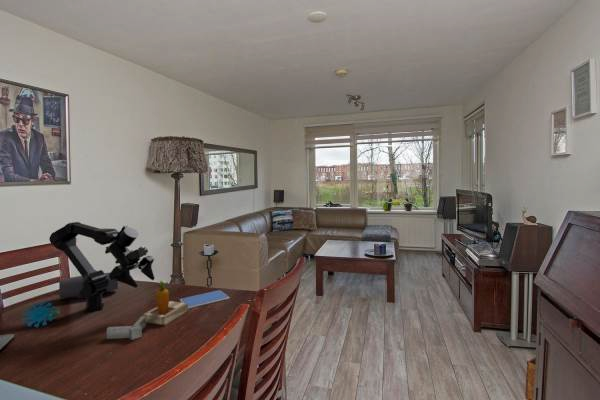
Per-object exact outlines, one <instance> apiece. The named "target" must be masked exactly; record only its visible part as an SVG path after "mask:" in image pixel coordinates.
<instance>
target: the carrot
mask: <svg viewBox="0 0 600 400" xmlns="http://www.w3.org/2000/svg"><path fill="white" fill-rule="evenodd" d="M168 283H169V282H168V281H166V282H165V281H163V280H160V281H159V283H158V287H159V289H158V290H156V291H155V300H156V301H155V302H156V307H157V308H158V312H159V314H160V315H166V313H167V310H168V304H169V301H170V296H169V295H170V292H169V290H168V289H167V288H166V286H167V284H168Z"/></svg>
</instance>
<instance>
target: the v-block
mask: <svg viewBox="0 0 600 400" xmlns="http://www.w3.org/2000/svg"><path fill="white" fill-rule="evenodd" d="M146 326H147V322H146V316H143V315H142V316H140V317H139V319H138V320H136V322H135V323H134V324H133V325H129V326H128V325H125V326H108V327H107V328H106V339H107V340H109V339H110V340H111V339H114V340H115V339H130V340H131V341H133V340H136V339H139V338H141V337H143V333H142V331H143V330H144V329H145V327H146Z"/></svg>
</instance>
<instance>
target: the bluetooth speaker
mask: <svg viewBox="0 0 600 400" xmlns="http://www.w3.org/2000/svg"><path fill="white" fill-rule="evenodd" d="M104 274H105V275H106V276H108V277H107V278H108V281H109V283H108V287H107V291H106V292H103V293H102V295H103V294H104V293H107V292H112V291H116V290H119V284H118V283H119V281H115V280H113V281H112V280H111V279H110V278H109V274H110V272H104ZM82 282H83V277H82V276H81V275H78V276H70V277H65V278H61V279H59V282H58V284H59V285H58V287H59V288H58V295H59V298H60V299H63V298H64V299H65V298H67V299H69V298H74V297H75V298H76V299H82V298H83V299H84V297H80V294H79V292H80V291H81V290H82V288H83V287H84V286H83V284H82Z"/></svg>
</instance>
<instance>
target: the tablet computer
mask: <svg viewBox="0 0 600 400" xmlns="http://www.w3.org/2000/svg"><path fill="white" fill-rule="evenodd" d="M229 299H230V297H229V296H228V295H227V294H225V293H224V292H223V291H222V290H220V289H218V290H213V291H209V292H206V293H204V292H203V293H202V294H201V293H200V294H196V295H191V296H187V297H183V298H179V302H180V303H188V310H189V309H193V308H198V307H202V306H205V305H210V304H212V303H218V302H221V301H226V300H229Z"/></svg>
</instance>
